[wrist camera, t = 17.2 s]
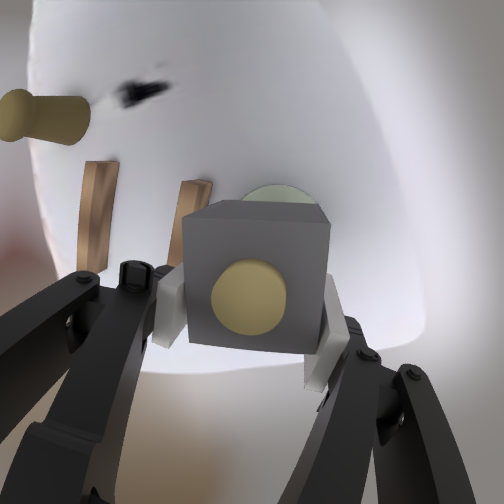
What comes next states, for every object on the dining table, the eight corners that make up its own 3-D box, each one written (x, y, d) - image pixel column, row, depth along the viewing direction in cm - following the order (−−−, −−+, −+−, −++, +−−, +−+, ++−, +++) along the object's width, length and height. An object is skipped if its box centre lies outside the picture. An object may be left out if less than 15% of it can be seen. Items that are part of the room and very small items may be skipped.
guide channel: (108, 160, 28) (85, 161, 24) (212, 183, 27) (198, 185, 23) (97, 264, 31) (76, 275, 27) (189, 297, 30) (175, 314, 26)
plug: (223, 200, 16) (169, 222, 9) (317, 203, 15) (334, 229, 8) (223, 287, 17) (180, 355, 10) (311, 293, 16) (316, 370, 10)
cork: (88, 88, 26) (19, 71, 15) (93, 135, 27) (18, 131, 17) (54, 108, 27) (-14, 101, 16) (58, 152, 28) (-13, 156, 18)
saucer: (242, 173, 26) (240, 173, 25) (339, 200, 25) (340, 201, 25) (220, 265, 29) (217, 268, 28) (310, 290, 28) (310, 294, 27)
